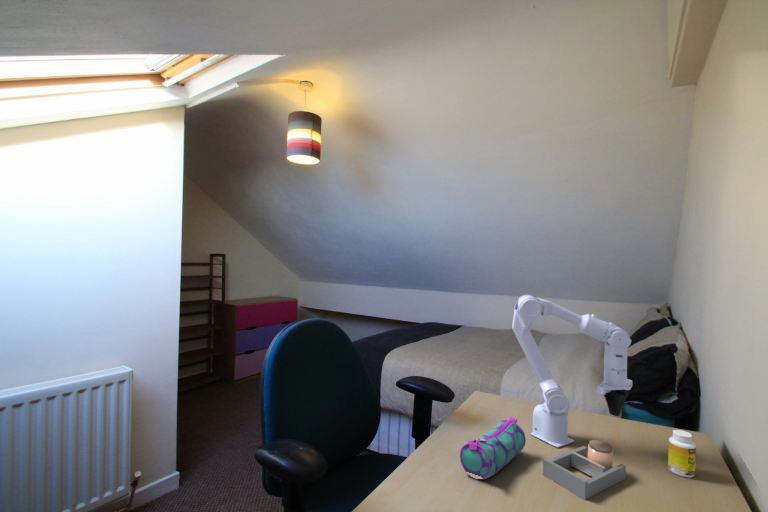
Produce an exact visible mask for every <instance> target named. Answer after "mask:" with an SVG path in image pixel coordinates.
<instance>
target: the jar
mask: <svg viewBox="0 0 768 512" xmlns="http://www.w3.org/2000/svg"><path fill="white" fill-rule="evenodd" d="M587 458H588V459H590V460H592V461H594V462H596V463H598V464H600V465H602V466H604V467H605V471H607V470H609V469H611V468H613V467H614V466H613V464H614V463H613V462H614V450H613V446H612V445H611V444H610V443H607V442H606V441H604V440H603V441H602V440H598V439H592V440H589V443H588V445H587Z"/></svg>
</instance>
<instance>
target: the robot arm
mask: <svg viewBox="0 0 768 512" xmlns="http://www.w3.org/2000/svg"><path fill="white" fill-rule="evenodd" d="M513 309H514V310H513V318H512V324H511V328H512V331H513V333H514V335H515V337H516V340H517V341H518V344H519V346H520V347H521V349H522V352H523V353H524V356H525V357H526V359H527V361H528V363H529V365H530V367H531V370H532V371H533V373H534V375H535V377H536V378H535V379H536V380H537V382H538V384H539V386H540V388H541V395H542V398H543V400H544V402H543V403H541V404H540V403H539V404H537V405H536V406H535V407H534V409H533V410H532V411H533V412H532V432H530V435H532V436H533V437H535V438H537V439H539V440H541V441H543V442H545V443H547V444H549V445H551V446H553V447H555V448H557V449H559V448H561V447H564V446H566V445H570V444H571V443H574V442H575V440H574V439H573V438H570V437H569V436H568V432H569V428H568V426H569V424H568V423H569V409H570V406H571V405H570V400H569V398H568V397H567V396H566V395H565V393H564V391H563V389H562V387H561V386H560V385H558V384H557V382H556V380H555V379H554V377H553V374H552V372H551V371H550V368H549V367H548V365H547V363H546V359H544V356H543V354H542V353H541V350H540V348H539V346H538V344H537V342H536V340H535V338H534V336H533V335H532V332H531V328H532V326H533V324H534V322H535V321H536V320H537V319H538V318H540V316H543V317H547V316H553V317H556V318H558V319H561V320H563V321H566V322H568V323H570V324H573V325H575V326H577V329H578V331H579V332H580V333H582V334H584V335H586V336H589V337H591V338H594V339H596V340H598V341H600V342H604V353H603V354H604V355H603V356H604V357H603V358H604V359H603V381H602V382H601V383H600V384H598V385H597V386H596V394H599V395H602V396H603V397H604V399H605V401H606V405H607V407H608V412H609V415H612V416H614V417H619V416H620V415H621V411H622V409H623V405H624V402H625V401H626V399H627V398H628V396H629V395H630V394H629V393H630V392H629V391H630V390H631V389H632V387H633V380H631V379H628V348H629V347H630V345H631V343H632V339H631V338H630V334H629V333H628V331H626V329H623V328H621V327H619V326H617V325H616V324H614V323H613V322H611V321H610V322H607V321H605V320H603V319H601V318H598V315H596V314H594V313H591V314H589V313H587V314H583V315H580V314H577V313H576V312H573V311H571V310H569V309H568V308H565V307H562V306H561V305H559V304H556V303H554V302H552V301H550V300H547V299H543V298H540V297H535V296H533V295H531V294H524V295H523V294H522V295H521V296H519V298H518V299H517V300H516V303H515V305H514V308H513Z"/></svg>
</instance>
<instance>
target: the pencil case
mask: <svg viewBox="0 0 768 512" xmlns="http://www.w3.org/2000/svg"><path fill="white" fill-rule="evenodd" d="M517 422H518V418H515V417H512V416H510V417H509V418H508V419H503V420H500V421H499V422H498V423H497V425H496V426H495V427H494V428H492V429H491V430H489V431H488V432H487V433H485V434H483V435H482V436H480V437H479V438H476V439H471V440H468V441H466V442H465V443H464V444H463V445H462V446H461V448H460V450H459V458H460V459H459V460H460V463H461V466H462V467H463V470H464V472H465V473H466V472H469V473H472V474H475V475H478V476H481V477H482V478H484V479H483V480H486V479H489V478H490V477H492V476H495V475H496V474H497V473H498V472H500V470H501V469H502V468H504V467H505V466H506V465H507V464H509V463H510V462H511V460H513V458H515V457H516V456H517V455H518V454H519V453H520V452H521V451H522V450H523V449H524V448H525V445H526V440H527V439H526V435H525V431H524V430H523V429H522V427H521V426H519V425H518V424H517Z"/></svg>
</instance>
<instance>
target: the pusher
mask: <svg viewBox="0 0 768 512" xmlns="http://www.w3.org/2000/svg"><path fill="white" fill-rule="evenodd" d="M571 467H573V468H575V469H577V470H579V471H581V472H582V473H585V474H586V475H588V476H590V477H591V478H592V477H594V476H597V475H599V474H601V473H603V472H605V467H604V466H602V465H600V464H598V463H596V462H594V461H592V460H590V459H588V457H587V458H586V457H584V456H582V455H580V454H578V453H576V452H574V451H573V452H571Z"/></svg>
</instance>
